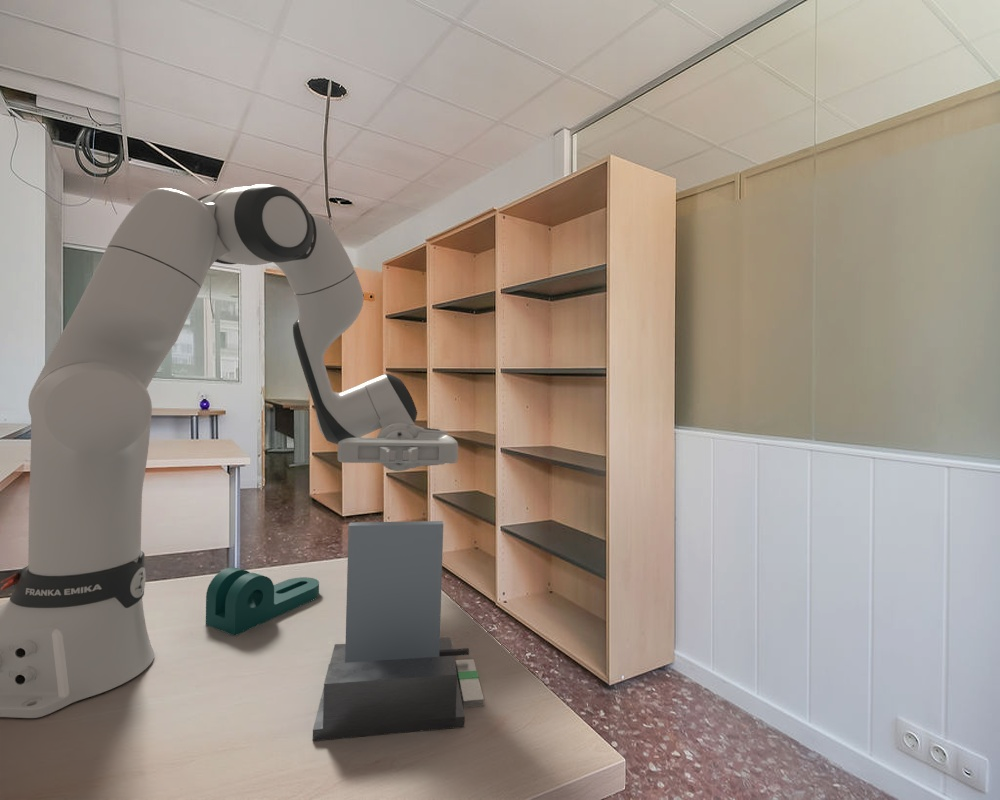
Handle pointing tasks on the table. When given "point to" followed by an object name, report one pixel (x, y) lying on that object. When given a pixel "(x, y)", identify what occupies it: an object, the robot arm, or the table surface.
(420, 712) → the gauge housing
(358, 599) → the grey upright panel
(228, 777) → the table surface
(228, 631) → the bracket
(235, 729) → the table surface
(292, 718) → the table surface
